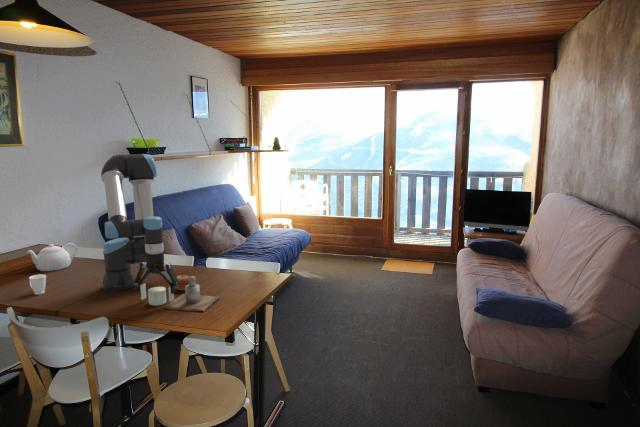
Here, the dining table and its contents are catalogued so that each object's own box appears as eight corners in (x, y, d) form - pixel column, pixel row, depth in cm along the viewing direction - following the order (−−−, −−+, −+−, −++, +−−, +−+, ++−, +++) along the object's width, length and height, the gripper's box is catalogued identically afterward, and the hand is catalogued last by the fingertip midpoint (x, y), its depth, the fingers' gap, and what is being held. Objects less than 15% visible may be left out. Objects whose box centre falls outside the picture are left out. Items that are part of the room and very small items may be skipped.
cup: (35, 296, 201) (34, 279, 200) (23, 293, 206) (21, 276, 204) (51, 291, 207) (49, 275, 206) (38, 288, 212) (37, 272, 211)
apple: (173, 288, 212) (172, 272, 211) (190, 286, 216) (189, 270, 214) (174, 293, 205) (173, 277, 204) (192, 291, 208) (191, 275, 207)
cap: (145, 304, 191) (144, 291, 190) (155, 298, 198) (154, 286, 197) (160, 306, 189) (159, 292, 188) (169, 300, 196) (169, 287, 195)
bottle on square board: (164, 308, 186) (162, 281, 184) (183, 296, 202) (182, 270, 200) (203, 311, 182) (202, 284, 180) (220, 298, 198) (219, 273, 196)
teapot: (60, 272, 239) (58, 248, 237) (27, 272, 239) (24, 247, 237) (79, 263, 258) (77, 240, 256) (48, 263, 258) (46, 240, 256)
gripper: (123, 253, 189) (127, 300, 192) (176, 255, 184) (178, 304, 187) (134, 249, 196) (137, 294, 199) (185, 251, 191) (187, 298, 194)
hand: (157, 299), depth 193 cm, fingers open, 13 cm apart
